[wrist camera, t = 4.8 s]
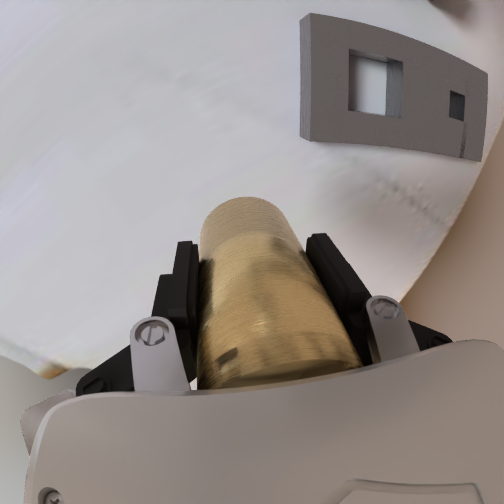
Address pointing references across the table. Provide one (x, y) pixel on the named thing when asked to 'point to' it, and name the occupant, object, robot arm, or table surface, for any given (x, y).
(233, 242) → the cylinder
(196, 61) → the table surface
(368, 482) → the robot arm
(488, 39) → the table surface
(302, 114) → the block
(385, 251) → the table surface
